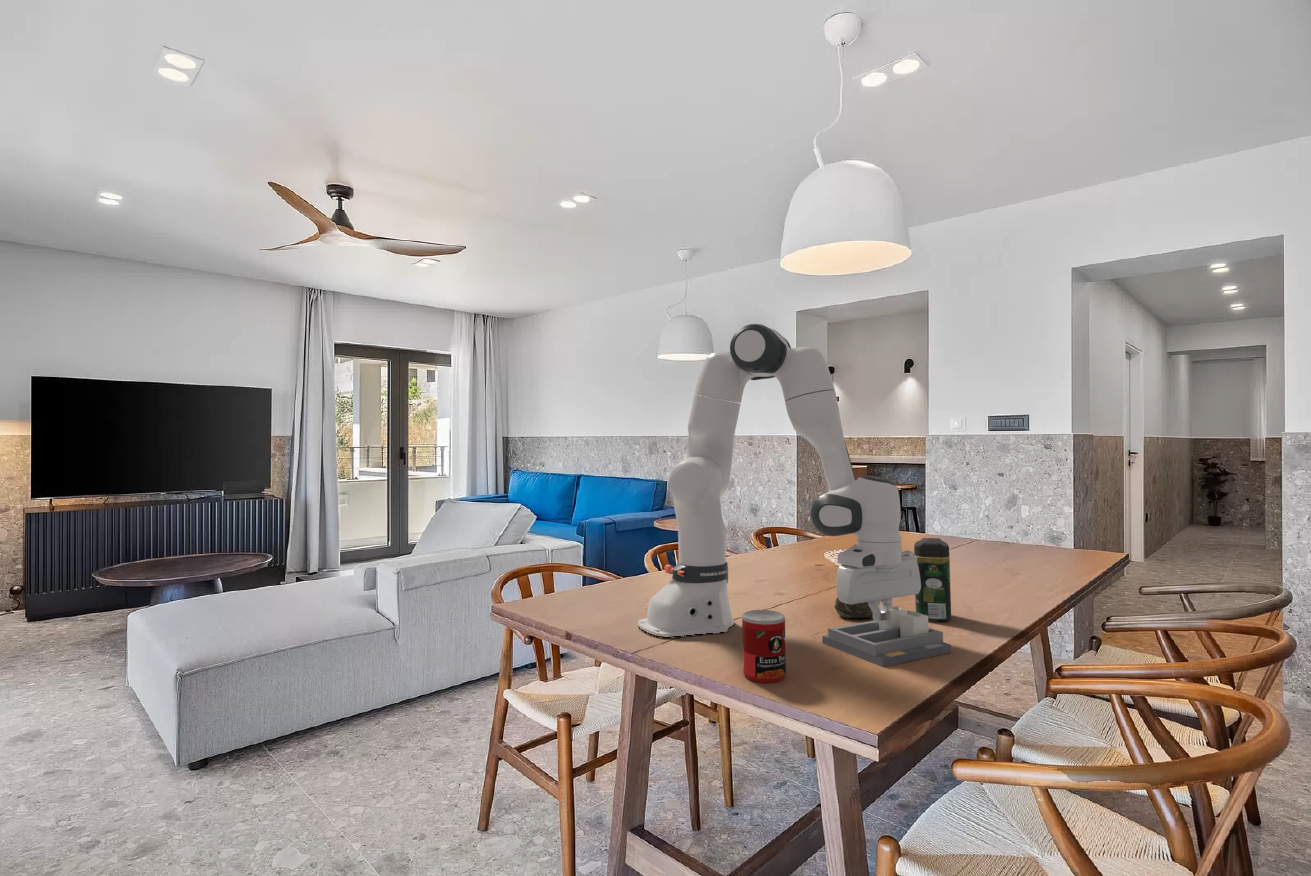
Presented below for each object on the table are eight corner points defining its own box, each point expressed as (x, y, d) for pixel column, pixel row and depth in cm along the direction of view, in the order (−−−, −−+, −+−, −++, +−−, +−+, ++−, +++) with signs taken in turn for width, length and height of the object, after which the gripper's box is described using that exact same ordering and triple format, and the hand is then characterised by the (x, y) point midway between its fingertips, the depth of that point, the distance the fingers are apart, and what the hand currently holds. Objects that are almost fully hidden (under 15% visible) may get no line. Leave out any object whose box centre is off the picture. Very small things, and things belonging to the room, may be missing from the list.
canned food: (758, 686, 116) (757, 622, 116) (734, 672, 124) (733, 612, 124) (795, 679, 119) (794, 617, 119) (770, 666, 127) (769, 607, 127)
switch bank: (882, 666, 125) (882, 647, 125) (822, 642, 141) (822, 626, 141) (951, 652, 133) (950, 634, 133) (887, 631, 148) (886, 615, 148)
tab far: (891, 635, 139) (891, 608, 139) (879, 631, 142) (878, 605, 143) (906, 633, 141) (905, 606, 141) (893, 629, 144) (892, 602, 144)
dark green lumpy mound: (833, 597, 155) (878, 598, 153) (831, 562, 165) (874, 562, 163) (834, 631, 161) (878, 632, 159) (832, 595, 171) (874, 596, 168)
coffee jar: (915, 611, 165) (913, 535, 165) (950, 613, 162) (948, 536, 163) (914, 621, 156) (913, 541, 156) (952, 623, 153) (950, 542, 154)
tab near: (914, 643, 134) (913, 615, 134) (900, 638, 137) (899, 611, 137) (928, 640, 136) (928, 612, 136) (914, 636, 139) (914, 609, 139)
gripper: (904, 547, 148) (905, 610, 147) (830, 555, 139) (832, 623, 139) (927, 551, 142) (928, 617, 142) (852, 560, 133) (853, 630, 133)
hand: (880, 620), depth 140 cm, fingers closed
